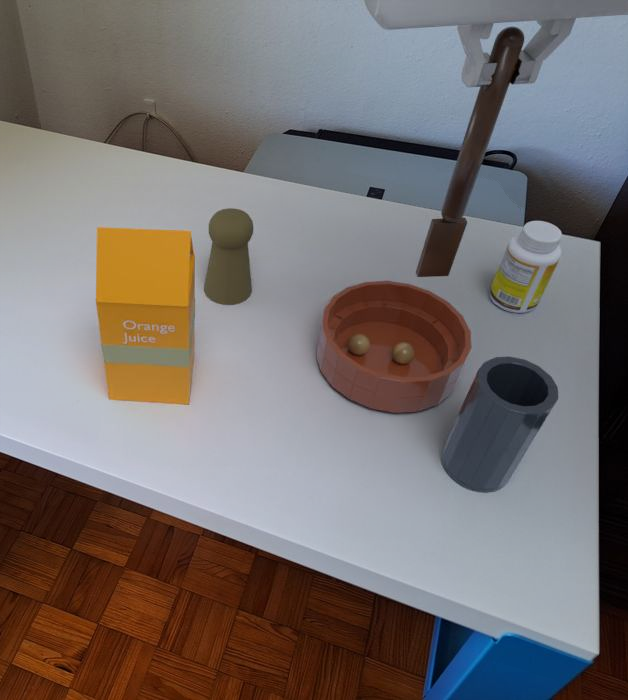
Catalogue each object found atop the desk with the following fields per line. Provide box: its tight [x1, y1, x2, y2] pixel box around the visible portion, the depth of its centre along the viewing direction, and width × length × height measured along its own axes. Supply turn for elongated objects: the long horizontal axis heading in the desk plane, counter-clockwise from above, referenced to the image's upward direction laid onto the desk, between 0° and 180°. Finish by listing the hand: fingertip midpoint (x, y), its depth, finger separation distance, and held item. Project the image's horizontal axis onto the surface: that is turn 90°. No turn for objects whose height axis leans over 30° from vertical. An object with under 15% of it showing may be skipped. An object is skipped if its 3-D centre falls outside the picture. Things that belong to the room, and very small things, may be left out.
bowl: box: [315, 280, 472, 414], centre depth 74 cm, size 15×15×6 cm
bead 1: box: [348, 333, 370, 355], centre depth 76 cm, size 2×2×2 cm
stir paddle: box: [415, 26, 525, 278], centre depth 54 cm, size 3×2×22 cm, turn 90°
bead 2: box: [392, 342, 415, 364], centre depth 75 cm, size 2×2×2 cm
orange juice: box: [95, 226, 196, 406], centre depth 69 cm, size 8×9×20 cm
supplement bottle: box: [489, 220, 563, 314], centre depth 79 cm, size 6×6×10 cm
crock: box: [441, 356, 559, 493], centre depth 63 cm, size 6×6×12 cm
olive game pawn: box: [203, 207, 254, 306], centre depth 82 cm, size 6×6×11 cm
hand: (496, 82), depth 48 cm, fingers closed on stir paddle, 2 cm apart
